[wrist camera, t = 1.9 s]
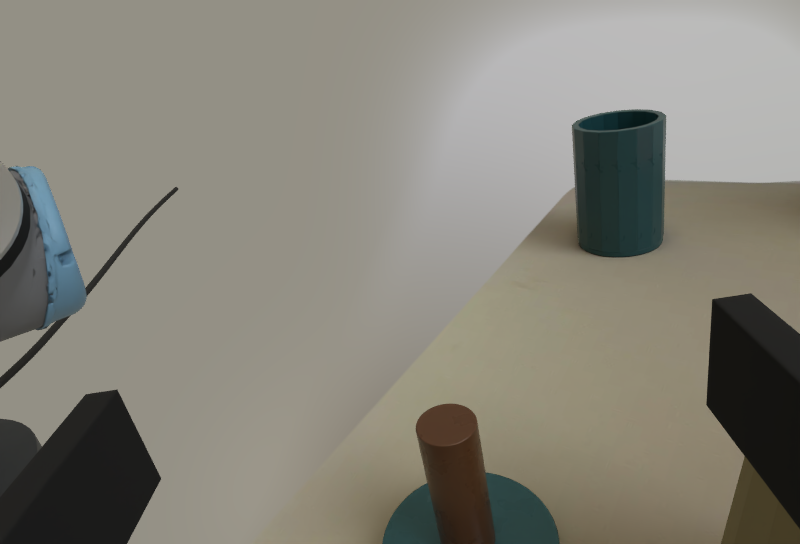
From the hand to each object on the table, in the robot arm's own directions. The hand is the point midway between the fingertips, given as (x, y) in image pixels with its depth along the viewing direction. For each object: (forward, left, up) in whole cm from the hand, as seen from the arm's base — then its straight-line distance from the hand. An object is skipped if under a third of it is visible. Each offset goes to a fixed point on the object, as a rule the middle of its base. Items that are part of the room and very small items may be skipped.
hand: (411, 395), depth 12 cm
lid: (-9, +3, -18) cm, 20 cm away
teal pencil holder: (-38, +30, -18) cm, 52 cm away
